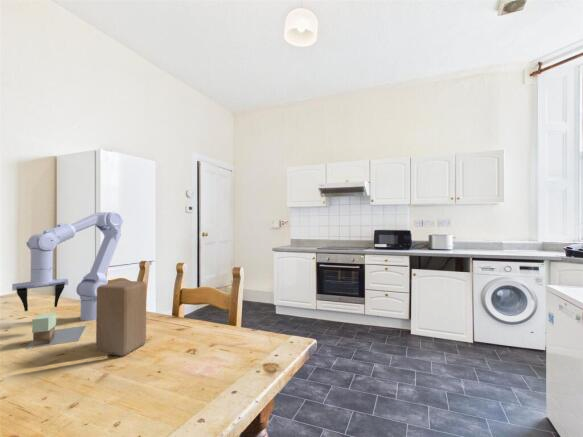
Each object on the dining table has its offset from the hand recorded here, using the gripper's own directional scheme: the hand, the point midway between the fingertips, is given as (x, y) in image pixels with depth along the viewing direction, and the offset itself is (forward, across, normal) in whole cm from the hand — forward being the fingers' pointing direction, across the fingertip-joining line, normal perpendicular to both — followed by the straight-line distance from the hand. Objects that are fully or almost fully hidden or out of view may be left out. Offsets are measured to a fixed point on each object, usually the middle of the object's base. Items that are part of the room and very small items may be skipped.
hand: (41, 308), depth 101 cm
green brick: (+4, -1, +10) cm, 11 cm away
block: (+10, -20, +29) cm, 36 cm away
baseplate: (+10, -5, +7) cm, 13 cm away
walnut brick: (+8, -1, +10) cm, 13 cm away
